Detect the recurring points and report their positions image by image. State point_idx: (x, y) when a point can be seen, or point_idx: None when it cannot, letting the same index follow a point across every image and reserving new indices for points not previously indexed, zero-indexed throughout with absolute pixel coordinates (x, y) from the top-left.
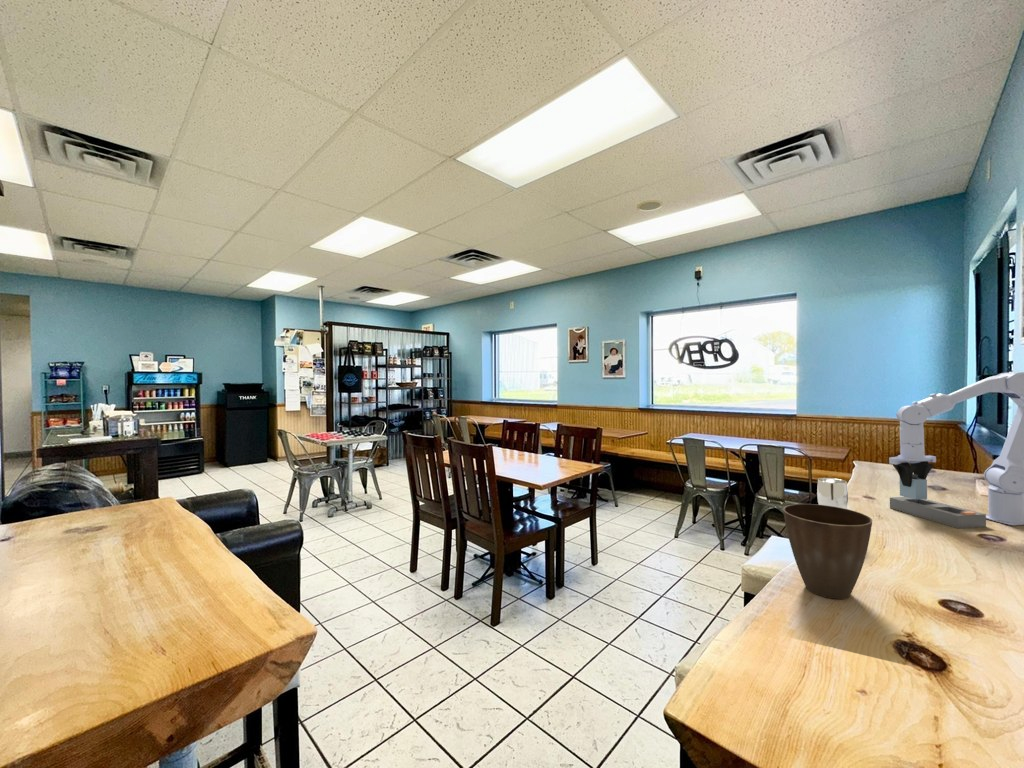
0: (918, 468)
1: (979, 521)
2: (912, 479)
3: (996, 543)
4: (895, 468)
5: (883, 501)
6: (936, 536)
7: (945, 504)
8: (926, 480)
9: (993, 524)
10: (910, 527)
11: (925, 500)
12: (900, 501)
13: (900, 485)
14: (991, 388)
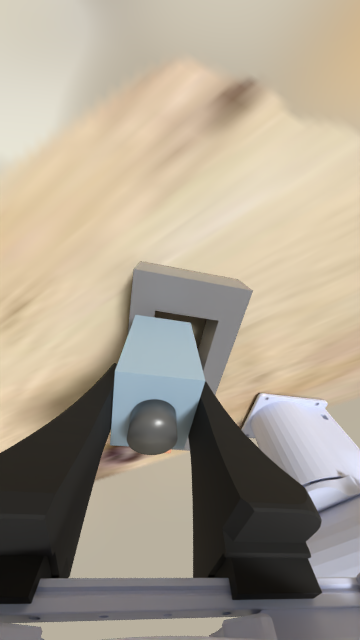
0: (205, 494)
1: None
2: (118, 430)
3: (99, 465)
4: (13, 448)
5: (220, 177)
6: (27, 432)
7: (214, 386)
8: (179, 446)
9: None
10: (22, 391)
11: (214, 343)
12: (130, 313)
13: (127, 341)
14: None
